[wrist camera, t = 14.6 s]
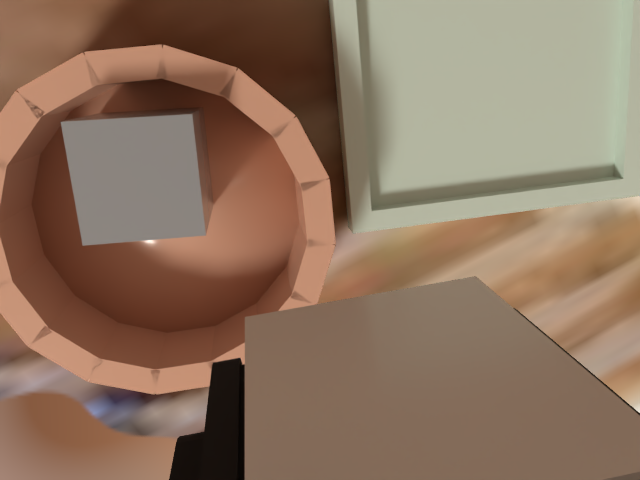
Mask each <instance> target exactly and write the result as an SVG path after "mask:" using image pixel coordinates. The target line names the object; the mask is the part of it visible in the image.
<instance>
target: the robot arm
mask: <svg viewBox="0 0 640 480" xmlns="http://www.w3.org/2000/svg"><path fill="white" fill-rule="evenodd" d="M514 309H515V308H514ZM515 310H516V309H515ZM516 311H517V312H518V313H519V314H521V313H520V312H519V311H518V310H516ZM521 315H522V314H521ZM522 316H523V315H522ZM523 317H524V318H525V319H527V318H526V317H525V316H523ZM527 320H528V319H527ZM528 321H529V320H528ZM529 322H530V323H531V324H532V325H534V324H533V323H532V322H531V321H529ZM534 326H535V325H534ZM535 327H536V328H537V329H538V330H540V329H539V328H538V327H537V326H535ZM540 331H541V330H540ZM541 332H542V331H541ZM542 333H543V334H544V335H545V336H547V335H546V334H545V333H544V332H542ZM547 337H548V336H547ZM548 338H549V339H550V340H551V341H553V340H552V339H551V338H550V337H548ZM553 342H554V341H553ZM554 343H555V344H556V345H557V346H558V347H560V346H559V345H558V344H557V343H556V342H554ZM560 348H561V347H560ZM561 349H562V350H563V351H564V352H566V351H565V350H564V349H563V348H561ZM566 353H567V352H566ZM567 354H568V355H569V356H570V357H571V358H573V357H572V356H571V355H570V354H569V353H567ZM573 359H574V360H575V361H576V362H577V363H578V364H580V365H581V366H582V367H583V368H584V369H586V368H585V367H584V366H583V365H582V364H581V363H579V362H578V361H577V360H576V359H575V358H573ZM586 370H587V371H588V372H589V373H590V374H591V375H593V376H594V377H595V378H596V379H597V380H599V381H600V382H601V383H602V384H603V385H604V386H606V387H607V388H608V389H609V390H610V391H612V392H613V393H614V394H615V395H616V396H617V397H619V398H620V399H621V400H622V401H623V402H624V403H626V404H627V405H628V406H629V407H630V408H632V409H633V410H634V411H635V412H636V413H637V414H639V415H640V413H639V412H638V411H636V410H635V409H634V408H633V407H632V406H630V405H629V404H628V403H627V402H626V401H624V400H623V399H622V398H621V397H620V396H619V395H617V394H616V393H615V392H614V391H613V390H611V389H610V388H609V387H608V386H607V385H605V384H604V383H603V382H602V381H601V380H600V379H598V378H597V377H596V376H595V375H594V374H592V373H591V372H590V371H589V370H588V369H586ZM169 480H245V364H243V365H242V361H241V358H235V359H230V360H224V361H219V362H213V363H212V370H211V379H210V387H209V396H208V405H207V413H206V422H205V431H204V432H201V433H195V434H190V435H185V436H180V437H179V438H178V439H177V442H176V447H175V452H174V457H173V463H172V468H171V474H170V479H169Z"/></svg>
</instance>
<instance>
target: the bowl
mask: <svg viewBox="0 0 640 480" xmlns="http://www.w3.org/2000/svg"><path fill="white" fill-rule="evenodd" d="M195 107H203V110H204V120H205V129H206V138H207V148H208V157H209V166H210V176H211V185H212V194H213V204H214V205H213V209H212V213H211V217H210V221H209V225H208V229H207V233H206V236H194V237H182V238H169V239H157V240H145V241H133V242H121V243H109V244H97V245H85V246H83V245H82V239H81V233H80V228H79V222H78V217H77V211H76V205H75V200H74V194H73V189H72V183H71V177H70V172H69V166H68V161H67V155H66V149H65V144H64V138H63V132H62V127H61V122H62V121H66V120H71V119H75V118H80V117H84V116H89V115H93V114H98V113H109V112H126V111H143V110H161V109H178V108H195ZM335 244H336V241H335V230H334V219H333V209H332V198H331V188H330V179H329V176H328V174H327V173H326V171H325V169H324V167H323V165H322V163H321V161H320V160H319V158H318V156H317V154H316V152H315V150H314V148H313V146H312V145H311V143H310V141H309V139H308V137H307V135H306V133H305V132H304V130H303V128H302V126H301V124H300V122H299V120H298V118H297V117H296V116H295V115H294V114H293V113H292V112H291V111H290V110H288V109H287V108H286V107H285V106H283V105H282V104H281V103H280V102H279V101H277V100H276V99H275V98H274V97H273V96H271V95H270V94H269V93H268V92H266V91H265V90H264V89H263V88H262V87H260V86H259V85H258V84H257V83H256V82H254V81H253V80H252V79H251V78H250V77H248V76H247V75H246V74H245V73H243V72H242V71H241V70H240V69H239V68H237V67H234V66H230V65H227V64H224V63H221V62H218V61H214V60H211V59H208V58H205V57H201V56H198V55H195V54H192V53H189V52H185V51H182V50H179V49H176V48H173V47H169V46H166V45H162V44H161V45H150V46H140V47H129V48H119V49H108V50H98V51H87V52H82V53H81V54H79V55H77V56H75V57H73V58H72V59H70V60H68V61H66V62H65V63H63V64H61V65H59V66H58V67H56V68H54V69H52V70H51V71H49V72H47V73H45V74H44V75H42V76H40V77H38V78H37V79H35V80H33V81H31V82H30V83H28V84H26V85H24V86H23V87H21V88H19V89H17V91H15V93H14V94H13V95H12V97H11V98H10V100H9V101H8V103H7V104H6V106H5V107H4V108H3V110H2V111H1V113H0V313H1V314H2V316H3V317H4V318H5V319H6V321H7V322H8V323H9V324H10V325H11V327H12V328H13V329H14V330H15V332H16V333H17V334H18V335H19V337H20V338H21V339H22V340H23V342H24V343H25V344H26V345H27V346H28V345H30V346H29V348H31V349H33V350H34V351H36V352H38V353H39V354H41V355H43V356H44V357H46V358H48V359H50V360H51V361H53V362H55V363H56V364H58V365H60V366H62V367H63V368H65V369H67V370H68V371H70V372H72V373H74V374H75V375H77V376H79V377H80V378H82V379H84V380H86V381H88V380H89V382H91V383H96V384H102V385H107V386H112V387H118V388H123V389H128V390H134V391H139V392H144V393H150V394H155V393H156V394H162V393H168V392H175V391H181V390H188V389H194V388H201V387H207V386H210V379H211V370H212V363H213V362H219V361H224V360H230V359H235V358H241V361H242V365H243V364H245V317H248V316H253V315H259V314H265V313H270V312H276V311H282V310H287V309H293V308H299V307H304V306H310V305H316V304H317V303H318V300H319V296H320V293H321V290H322V287H323V284H324V281H325V277H326V274H327V271H328V268H329V265H330V262H331V258H332V255H333V252H334V249H335V246H336V245H335Z"/></svg>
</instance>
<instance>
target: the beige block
mask: <svg viewBox="0 0 640 480" xmlns="http://www.w3.org/2000/svg"><path fill="white" fill-rule="evenodd" d="M245 480H640V415H639V414H637V413H636V412H635V411H634V410H633V409H632V408H630V407H629V406H628V405H627V404H626V403H624V402H623V401H622V400H621V399H620V398H619V397H617V396H616V395H615V394H614V393H613V392H612V391H610V390H609V389H608V388H607V387H606V386H604V385H603V384H602V383H601V382H600V381H599V380H597V379H596V378H595V377H594V376H593V375H591V374H590V373H589V372H588V371H587V370H586V369H584V368H583V367H582V366H581V365H580V364H578V363H577V362H576V361H575V360H574V359H573V358H571V357H570V356H569V355H568V354H567V353H566V352H564V351H563V350H562V349H561V348H560V347H558V346H557V345H556V344H555V343H554V342H553V341H551V340H550V339H549V338H548V337H547V336H545V335H544V334H543V333H542V332H541V331H540V330H538V329H537V328H536V327H535V326H534V325H532V324H531V323H530V322H529V321H528V320H527V319H525V318H524V317H523V316H522V315H521V314H519V313H518V312H517V311H516V310H515V309H514V308H512V307H511V306H510V305H509V304H508V303H507V302H505V301H504V300H503V299H502V298H501V297H499V296H498V295H497V294H496V293H495V292H494V291H492V290H491V289H490V288H489V287H488V286H486V285H485V284H484V283H483V282H482V281H481V280H479V279H478V278H477V277H476V276H474V277H469V278H463V279H457V280H452V281H446V282H440V283H435V284H429V285H423V286H418V287H412V288H406V289H401V290H395V291H389V292H384V293H378V294H372V295H367V296H361V297H355V298H350V299H344V300H338V301H333V302H327V303H321V304H316V305H310V306H304V307H299V308H293V309H287V310H282V311H276V312H270V313H265V314H259V315H253V316H248V317H245Z"/></svg>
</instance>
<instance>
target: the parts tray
mask: <svg viewBox="0 0 640 480" xmlns="http://www.w3.org/2000/svg"><path fill="white" fill-rule="evenodd" d="M329 12H330V23H331V35H332V46H333V58H334V69H335V80H336V92H337V103H338V115H339V126H340V138H341V149H342V161H343V172H344V184H345V195H346V206H347V218H348V227H349V229H350V230H351V231H352V233H353V234H354V233H362V232H369V231H377V230H384V229H392V228H400V227H407V226H415V225H422V224H430V223H438V222H445V221H453V220H460V219H468V218H475V217H483V216H491V215H498V214H506V213H513V212H521V211H529V210H536V209H544V208H551V207H559V206H566V205H574V204H582V203H589V202H597V201H604V200H612V199H620V198H627V197H635V196H640V0H329Z"/></svg>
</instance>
